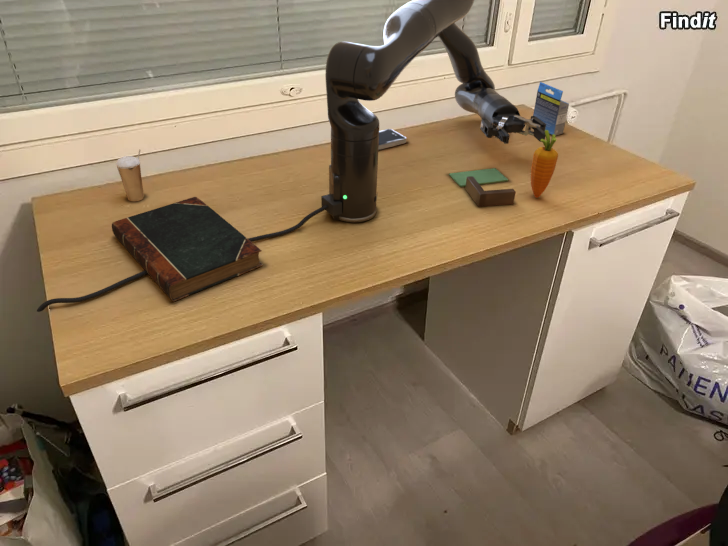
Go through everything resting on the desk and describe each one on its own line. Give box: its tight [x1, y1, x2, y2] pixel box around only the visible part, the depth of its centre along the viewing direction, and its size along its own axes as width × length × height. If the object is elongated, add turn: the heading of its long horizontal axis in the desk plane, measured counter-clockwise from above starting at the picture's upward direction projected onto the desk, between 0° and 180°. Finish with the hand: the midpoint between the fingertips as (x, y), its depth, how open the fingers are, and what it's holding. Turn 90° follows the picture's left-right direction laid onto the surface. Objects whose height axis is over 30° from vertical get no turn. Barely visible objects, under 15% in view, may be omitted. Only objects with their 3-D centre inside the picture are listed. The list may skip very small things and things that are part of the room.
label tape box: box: [532, 81, 570, 136], centre depth 158 cm, size 9×4×12 cm, turn 30°
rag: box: [448, 167, 509, 188], centre depth 135 cm, size 12×6×1 cm, turn 107°
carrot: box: [530, 130, 559, 199], centre depth 124 cm, size 5×5×15 cm
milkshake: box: [115, 149, 145, 202], centre depth 121 cm, size 4×5×10 cm
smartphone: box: [378, 128, 407, 151], centre depth 150 cm, size 8×1×15 cm
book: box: [111, 196, 264, 302], centre depth 106 cm, size 17×4×25 cm
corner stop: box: [464, 176, 517, 208], centre depth 127 cm, size 8×8×3 cm
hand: (525, 138), depth 131 cm, fingers open, 8 cm apart
